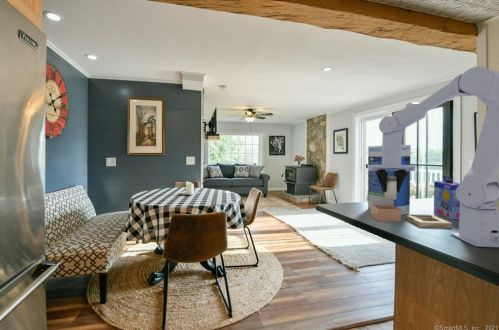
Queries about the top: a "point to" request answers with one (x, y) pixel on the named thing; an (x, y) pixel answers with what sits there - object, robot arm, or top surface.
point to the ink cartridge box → (446, 198)
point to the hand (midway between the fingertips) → (390, 191)
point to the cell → (391, 188)
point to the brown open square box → (386, 213)
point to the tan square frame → (428, 221)
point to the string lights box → (373, 182)
